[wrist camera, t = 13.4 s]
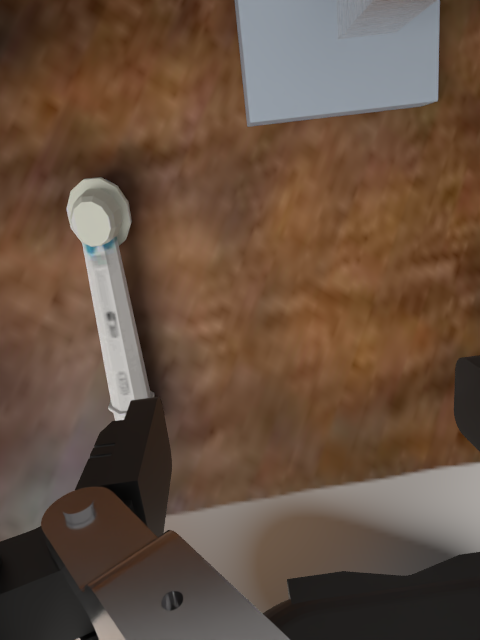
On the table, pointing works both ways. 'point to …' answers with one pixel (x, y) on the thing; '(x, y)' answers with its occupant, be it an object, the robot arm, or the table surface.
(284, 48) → the stand base
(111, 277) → the toothbrush head
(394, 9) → the column
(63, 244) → the table surface
